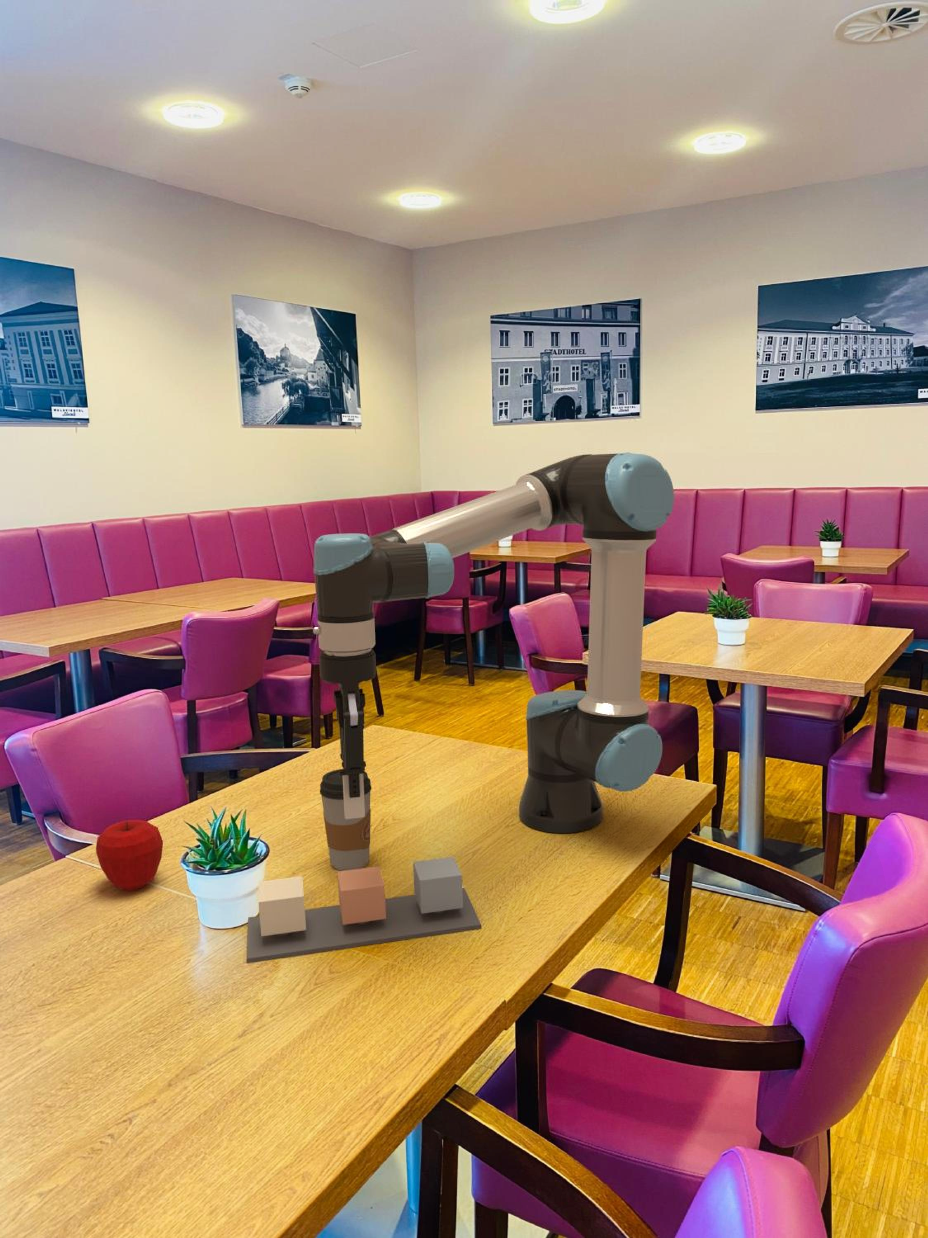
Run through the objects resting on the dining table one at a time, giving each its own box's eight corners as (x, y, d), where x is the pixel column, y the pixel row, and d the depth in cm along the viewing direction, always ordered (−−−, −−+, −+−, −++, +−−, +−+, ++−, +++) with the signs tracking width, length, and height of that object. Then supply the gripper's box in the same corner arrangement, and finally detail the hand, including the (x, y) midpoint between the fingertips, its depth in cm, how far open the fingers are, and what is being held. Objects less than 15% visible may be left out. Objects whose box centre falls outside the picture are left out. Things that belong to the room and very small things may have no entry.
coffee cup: (366, 876, 140) (361, 787, 137) (316, 873, 141) (311, 784, 139) (381, 853, 148) (377, 768, 145) (334, 850, 149) (329, 766, 147)
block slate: (454, 888, 131) (453, 856, 130) (463, 907, 125) (462, 875, 124) (414, 893, 129) (413, 862, 129) (421, 913, 124) (419, 880, 123)
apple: (179, 877, 142) (173, 813, 140) (134, 905, 133) (127, 837, 131) (133, 867, 146) (126, 804, 144) (86, 893, 137) (79, 827, 135)
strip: (464, 891, 134) (463, 879, 134) (481, 928, 123) (480, 915, 123) (248, 921, 127) (247, 908, 127) (246, 963, 117) (245, 949, 116)
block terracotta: (380, 898, 128) (378, 866, 128) (386, 918, 123) (384, 885, 122) (339, 903, 127) (337, 871, 126) (342, 925, 121) (340, 891, 121)
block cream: (304, 908, 126) (302, 876, 125) (306, 930, 120) (303, 896, 119) (261, 914, 125) (258, 881, 124) (261, 936, 119) (258, 902, 118)
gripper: (316, 642, 123) (324, 801, 128) (321, 662, 111) (330, 838, 115) (369, 638, 125) (376, 796, 129) (381, 658, 112) (387, 832, 117)
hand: (354, 816), depth 122 cm, fingers closed
